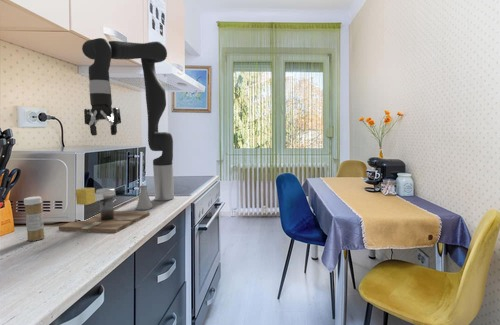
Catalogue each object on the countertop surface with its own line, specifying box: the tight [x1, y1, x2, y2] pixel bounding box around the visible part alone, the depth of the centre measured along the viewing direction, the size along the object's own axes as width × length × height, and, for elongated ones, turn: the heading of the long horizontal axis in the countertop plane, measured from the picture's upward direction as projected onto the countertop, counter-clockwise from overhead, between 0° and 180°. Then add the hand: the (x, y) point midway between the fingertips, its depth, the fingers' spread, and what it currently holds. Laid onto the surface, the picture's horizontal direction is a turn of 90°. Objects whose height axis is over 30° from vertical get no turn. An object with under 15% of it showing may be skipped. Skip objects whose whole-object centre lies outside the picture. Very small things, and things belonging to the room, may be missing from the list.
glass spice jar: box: [99, 197, 115, 220], centre depth 114 cm, size 6×4×8 cm
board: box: [58, 210, 150, 234], centre depth 113 cm, size 23×22×1 cm
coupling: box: [75, 187, 116, 206], centre depth 109 cm, size 15×6×5 cm, turn 168°
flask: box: [135, 185, 154, 211], centre depth 133 cm, size 7×7×10 cm
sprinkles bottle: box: [23, 196, 45, 242], centre depth 96 cm, size 5×5×13 cm
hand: (103, 135), depth 119 cm, fingers open, 8 cm apart
